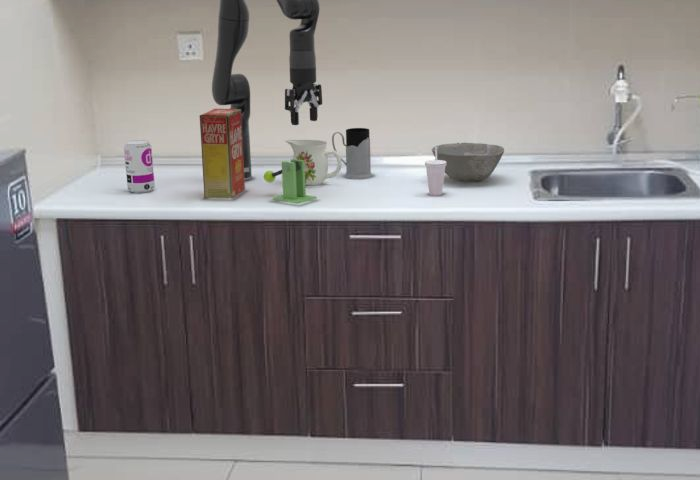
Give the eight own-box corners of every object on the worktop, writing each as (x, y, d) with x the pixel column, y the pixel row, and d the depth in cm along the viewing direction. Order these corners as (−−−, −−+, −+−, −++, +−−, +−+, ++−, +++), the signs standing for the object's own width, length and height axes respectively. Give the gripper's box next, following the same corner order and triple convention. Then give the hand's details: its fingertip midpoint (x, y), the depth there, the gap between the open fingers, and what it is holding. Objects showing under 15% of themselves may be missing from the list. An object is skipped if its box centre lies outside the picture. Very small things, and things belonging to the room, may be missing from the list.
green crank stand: (272, 201, 286) (270, 161, 282) (290, 196, 292) (288, 157, 288) (299, 205, 280) (297, 165, 277) (316, 200, 286) (315, 160, 283)
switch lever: (263, 184, 289) (260, 173, 289) (271, 182, 292) (267, 171, 292) (294, 172, 281) (290, 161, 281) (302, 170, 284) (298, 159, 283)
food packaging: (233, 200, 288) (228, 114, 281) (202, 199, 290) (196, 114, 282) (246, 190, 301) (242, 108, 293) (217, 189, 302) (211, 108, 295)
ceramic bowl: (486, 190, 294) (486, 157, 291) (418, 183, 306) (418, 151, 303) (516, 177, 312) (516, 145, 309) (451, 170, 324) (451, 140, 321)
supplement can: (160, 188, 306) (156, 140, 301) (144, 194, 298) (139, 145, 294) (139, 186, 309) (134, 139, 304) (122, 192, 302) (117, 143, 297)
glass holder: (362, 179, 313) (361, 132, 308) (325, 175, 320) (324, 129, 315) (377, 174, 320) (376, 128, 315) (340, 170, 327) (339, 125, 322)
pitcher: (336, 190, 299) (334, 145, 295) (280, 187, 304) (278, 143, 300) (347, 182, 309) (345, 139, 305) (293, 180, 314) (291, 137, 310)
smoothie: (448, 192, 293) (449, 145, 289) (443, 197, 287) (443, 149, 283) (428, 191, 295) (428, 144, 291) (422, 195, 289) (422, 148, 285)
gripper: (308, 63, 288) (309, 118, 293) (276, 67, 277) (278, 125, 282) (328, 64, 284) (329, 120, 289) (297, 69, 273) (299, 127, 278)
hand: (304, 122), depth 285 cm, fingers open, 8 cm apart
